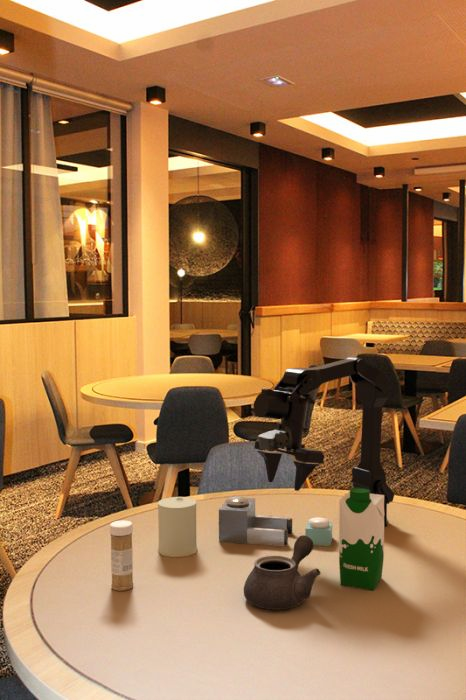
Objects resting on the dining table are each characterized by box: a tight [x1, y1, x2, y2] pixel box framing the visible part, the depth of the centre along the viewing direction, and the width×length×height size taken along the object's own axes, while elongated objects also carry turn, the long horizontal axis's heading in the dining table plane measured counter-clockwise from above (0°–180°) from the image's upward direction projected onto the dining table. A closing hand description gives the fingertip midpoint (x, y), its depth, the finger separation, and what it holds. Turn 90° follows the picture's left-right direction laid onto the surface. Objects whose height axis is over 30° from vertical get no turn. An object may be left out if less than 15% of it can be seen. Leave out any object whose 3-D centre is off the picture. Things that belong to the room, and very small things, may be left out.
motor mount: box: [218, 496, 293, 547], centre depth 176 cm, size 17×11×9 cm, turn 78°
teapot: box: [243, 535, 322, 610], centre depth 142 cm, size 19×15×10 cm
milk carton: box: [338, 487, 385, 591], centre depth 148 cm, size 9×9×20 cm
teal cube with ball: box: [304, 517, 333, 547], centre depth 173 cm, size 6×6×5 cm
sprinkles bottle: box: [109, 520, 134, 592], centre depth 146 cm, size 5×5×13 cm
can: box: [157, 496, 198, 558], centre depth 167 cm, size 9×9×12 cm
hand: (283, 486), depth 169 cm, fingers open, 9 cm apart
